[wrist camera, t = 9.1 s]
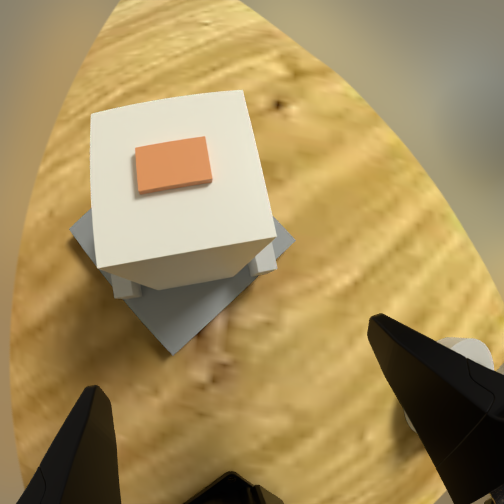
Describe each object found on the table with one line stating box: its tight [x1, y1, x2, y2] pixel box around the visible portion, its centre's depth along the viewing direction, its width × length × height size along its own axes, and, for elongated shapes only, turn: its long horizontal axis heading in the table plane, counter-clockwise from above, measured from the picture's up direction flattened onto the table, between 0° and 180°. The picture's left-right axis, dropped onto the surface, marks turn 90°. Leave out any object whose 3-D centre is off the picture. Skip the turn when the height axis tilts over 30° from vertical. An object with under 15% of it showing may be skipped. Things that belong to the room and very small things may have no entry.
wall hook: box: [404, 337, 504, 433], centre depth 16 cm, size 9×10×10 cm
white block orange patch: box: [90, 90, 277, 290], centre depth 13 cm, size 4×4×11 cm
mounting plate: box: [69, 208, 296, 355], centre depth 17 cm, size 10×10×4 cm
